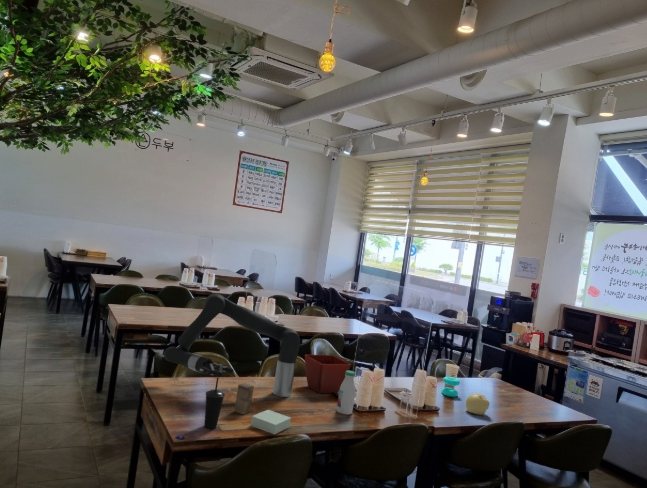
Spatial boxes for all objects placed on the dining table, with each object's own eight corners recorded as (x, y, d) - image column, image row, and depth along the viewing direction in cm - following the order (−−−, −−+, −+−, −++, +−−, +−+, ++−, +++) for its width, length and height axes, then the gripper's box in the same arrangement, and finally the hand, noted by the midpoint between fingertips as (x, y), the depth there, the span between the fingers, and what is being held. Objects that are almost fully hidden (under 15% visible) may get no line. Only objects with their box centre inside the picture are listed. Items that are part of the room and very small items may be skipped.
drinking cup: (202, 422, 208) (209, 374, 208) (220, 424, 209) (228, 376, 209) (199, 429, 201) (206, 379, 200) (218, 431, 201) (226, 382, 201)
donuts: (449, 380, 302) (440, 375, 311) (446, 397, 302) (437, 391, 311) (463, 381, 305) (454, 376, 314) (461, 398, 305) (451, 392, 315)
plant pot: (328, 383, 292) (333, 354, 292) (346, 395, 276) (351, 364, 276) (299, 384, 282) (304, 354, 282) (316, 396, 266) (321, 364, 266)
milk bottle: (353, 411, 250) (360, 371, 250) (349, 416, 243) (355, 375, 242) (339, 407, 252) (345, 368, 252) (334, 412, 245) (340, 371, 245)
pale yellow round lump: (490, 417, 275) (493, 398, 275) (470, 415, 273) (473, 396, 273) (480, 410, 286) (483, 391, 286) (460, 408, 284) (464, 389, 284)
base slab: (266, 418, 223) (268, 409, 223) (289, 427, 218) (291, 417, 218) (250, 425, 213) (252, 416, 212) (274, 434, 207) (275, 424, 207)
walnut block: (241, 408, 230) (245, 382, 230) (249, 412, 228) (254, 385, 228) (234, 411, 226) (238, 384, 226) (243, 414, 224) (247, 387, 223)
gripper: (191, 358, 233) (218, 367, 226) (211, 354, 246) (237, 363, 238) (188, 374, 233) (215, 384, 226) (208, 369, 246) (235, 378, 238)
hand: (227, 373), depth 232 cm, fingers open, 8 cm apart
